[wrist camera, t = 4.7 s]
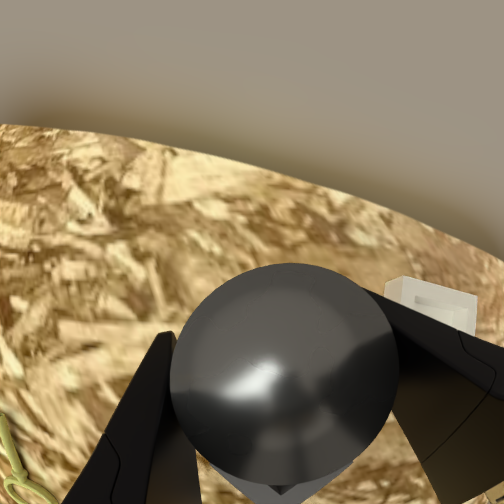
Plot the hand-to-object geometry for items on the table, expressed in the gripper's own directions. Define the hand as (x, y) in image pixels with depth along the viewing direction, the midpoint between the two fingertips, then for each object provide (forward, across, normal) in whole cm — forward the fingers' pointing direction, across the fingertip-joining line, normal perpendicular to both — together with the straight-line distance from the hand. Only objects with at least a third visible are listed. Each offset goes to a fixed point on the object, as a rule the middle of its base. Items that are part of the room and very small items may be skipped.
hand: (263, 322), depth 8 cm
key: (+2, +24, +17) cm, 30 cm away
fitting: (+4, 0, +6) cm, 7 cm away
